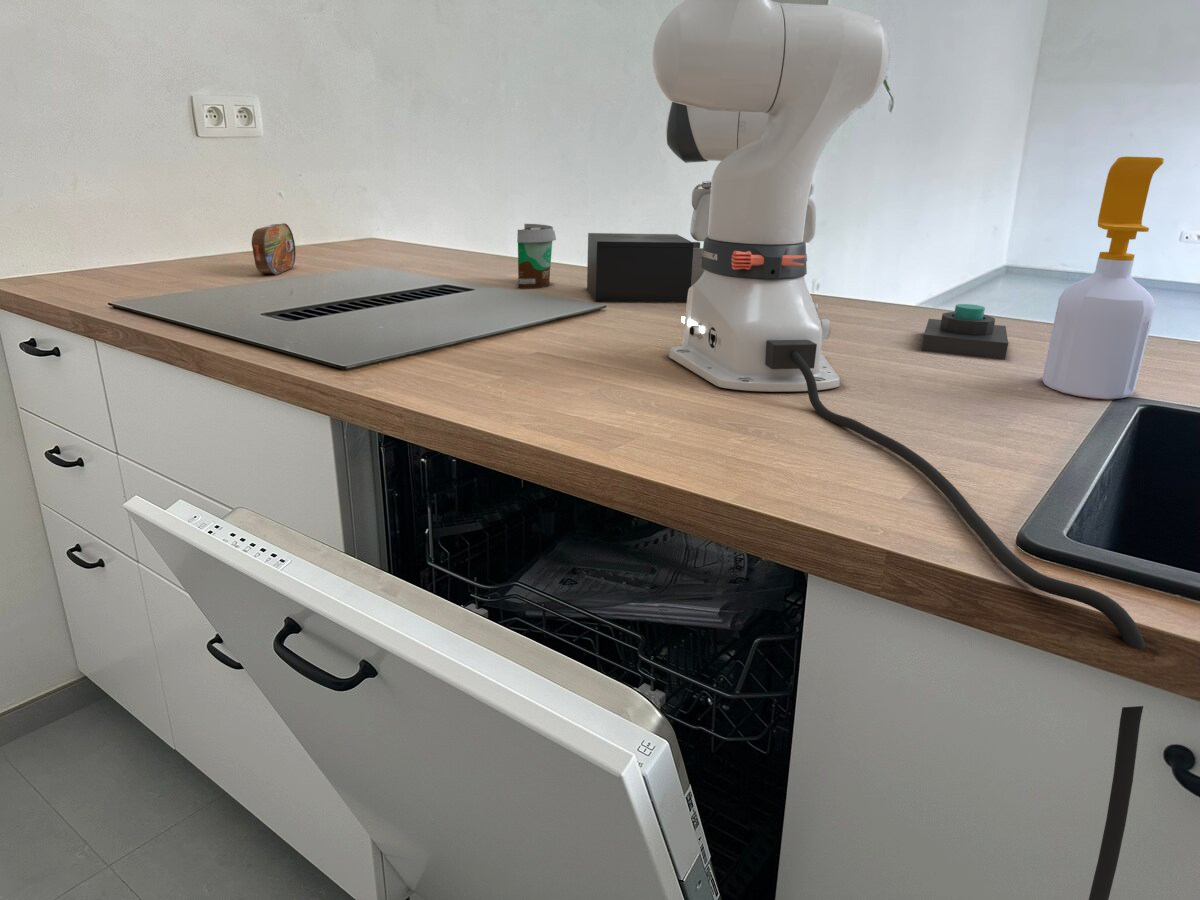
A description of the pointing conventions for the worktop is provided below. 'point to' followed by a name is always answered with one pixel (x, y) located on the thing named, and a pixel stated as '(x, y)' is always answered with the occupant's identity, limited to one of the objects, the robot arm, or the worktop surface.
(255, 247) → the tin
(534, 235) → the coffee cup
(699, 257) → the drawer
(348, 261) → the worktop surface
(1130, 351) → the soap bottle
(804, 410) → the worktop surface
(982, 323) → the control block
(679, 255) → the cabinet
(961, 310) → the button
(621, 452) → the worktop surface
